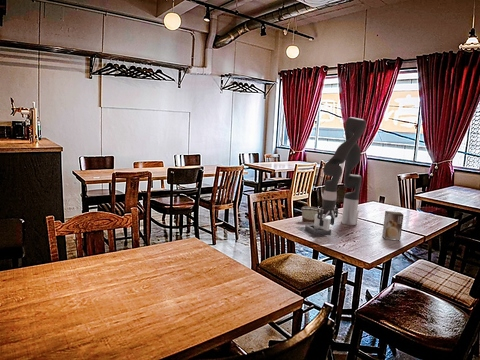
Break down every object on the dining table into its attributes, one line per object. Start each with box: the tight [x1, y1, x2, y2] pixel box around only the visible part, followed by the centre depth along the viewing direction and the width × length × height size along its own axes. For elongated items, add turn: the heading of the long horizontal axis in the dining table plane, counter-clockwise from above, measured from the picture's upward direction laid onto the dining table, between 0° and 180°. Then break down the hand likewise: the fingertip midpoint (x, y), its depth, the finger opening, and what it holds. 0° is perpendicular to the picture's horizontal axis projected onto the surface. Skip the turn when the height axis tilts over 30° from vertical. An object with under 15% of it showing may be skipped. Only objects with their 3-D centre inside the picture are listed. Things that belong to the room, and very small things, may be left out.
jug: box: [313, 214, 331, 231], centre depth 220 cm, size 11×5×10 cm, turn 33°
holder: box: [295, 224, 342, 239], centre depth 223 cm, size 20×20×4 cm
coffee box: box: [382, 210, 404, 241], centre depth 221 cm, size 9×6×16 cm
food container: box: [300, 205, 320, 223], centre depth 245 cm, size 12×6×10 cm, turn 84°
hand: (326, 225), depth 217 cm, fingers open, 8 cm apart
